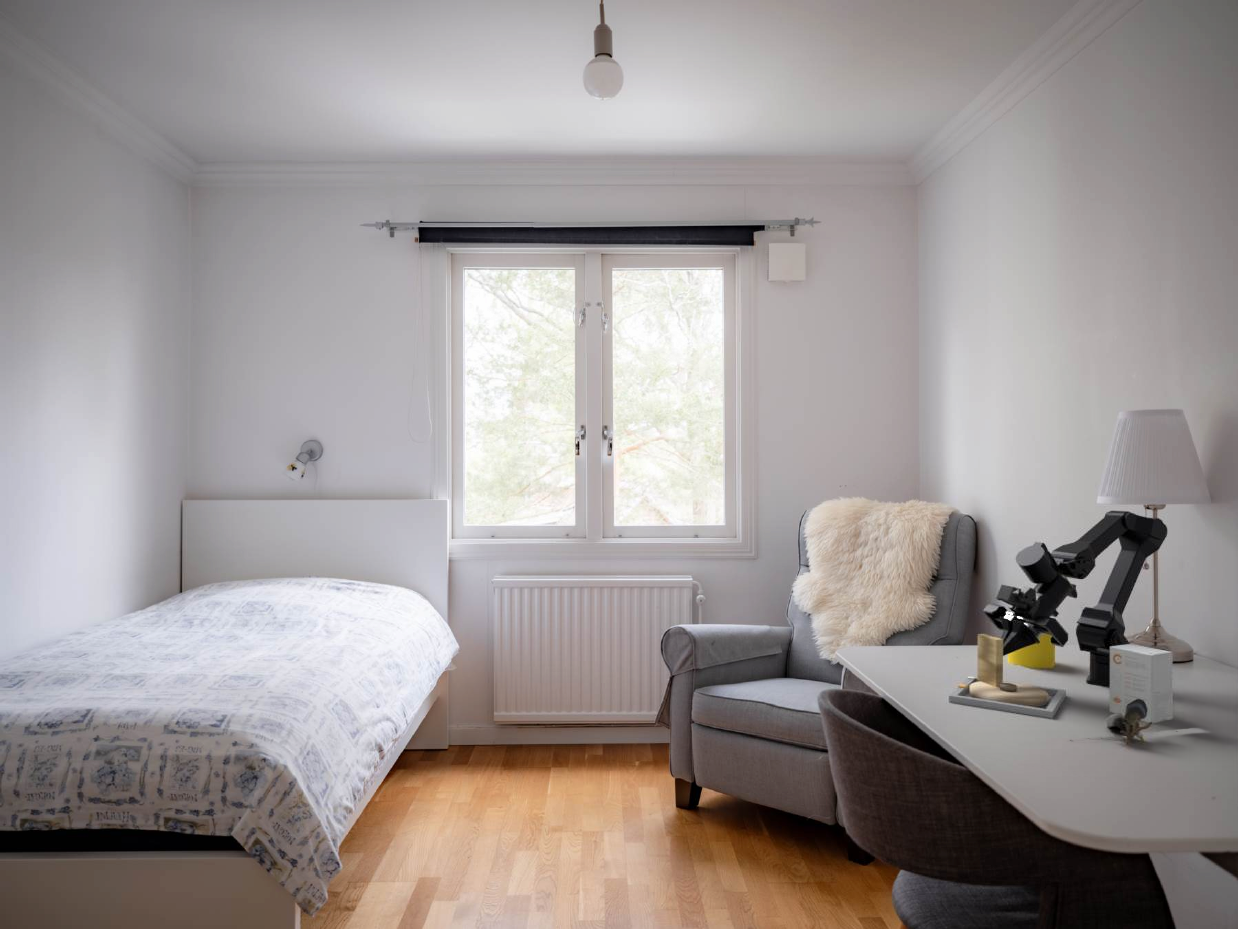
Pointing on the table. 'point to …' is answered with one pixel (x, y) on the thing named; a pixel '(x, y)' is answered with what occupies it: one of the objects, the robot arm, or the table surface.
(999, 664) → the beige disc with bar
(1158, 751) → the table surface
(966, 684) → the bezel plate
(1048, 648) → the tape roll
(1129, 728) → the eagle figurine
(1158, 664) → the small box
